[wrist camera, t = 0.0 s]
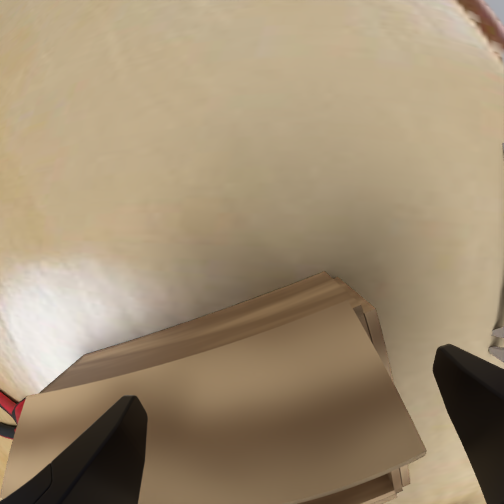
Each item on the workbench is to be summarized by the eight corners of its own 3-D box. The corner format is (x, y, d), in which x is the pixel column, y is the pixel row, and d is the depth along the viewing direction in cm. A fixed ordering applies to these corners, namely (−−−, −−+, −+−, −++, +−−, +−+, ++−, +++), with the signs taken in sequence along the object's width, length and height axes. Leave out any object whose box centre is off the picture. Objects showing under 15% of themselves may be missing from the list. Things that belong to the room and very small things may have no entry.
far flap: (424, 455, 8) (426, 450, 7) (7, 501, 9) (0, 497, 9) (349, 308, 14) (347, 300, 14) (32, 401, 16) (26, 396, 15)
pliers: (-25, 426, 25) (93, 485, 23) (-46, 373, 24) (69, 426, 22) (-13, 417, 28) (104, 469, 26) (-32, 365, 27) (84, 411, 25)
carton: (378, 428, 25) (411, 490, 16) (161, 483, 27) (140, 542, 18) (332, 268, 23) (373, 299, 14) (78, 356, 25) (23, 403, 16)
